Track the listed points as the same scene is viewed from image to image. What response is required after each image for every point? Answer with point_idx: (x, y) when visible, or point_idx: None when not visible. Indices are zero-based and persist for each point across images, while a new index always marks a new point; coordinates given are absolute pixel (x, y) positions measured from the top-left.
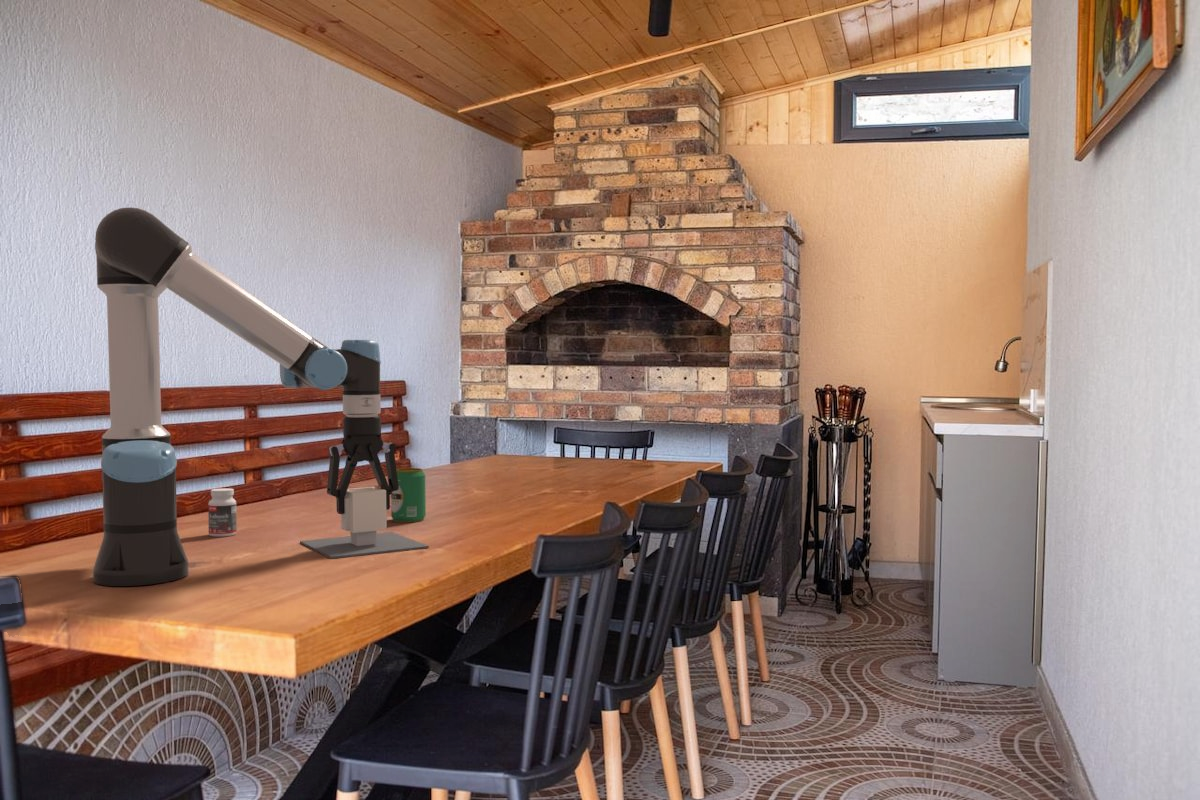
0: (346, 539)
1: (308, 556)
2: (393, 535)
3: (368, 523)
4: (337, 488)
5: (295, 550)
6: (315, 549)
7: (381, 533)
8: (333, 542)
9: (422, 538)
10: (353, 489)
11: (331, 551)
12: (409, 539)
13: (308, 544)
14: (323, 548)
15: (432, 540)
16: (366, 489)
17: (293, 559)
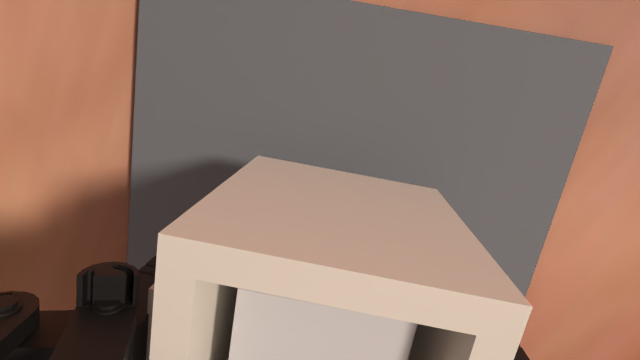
0: (327, 84)
1: (79, 264)
2: (546, 145)
3: None
4: (59, 342)
5: (75, 124)
6: (131, 192)
7: (546, 51)
8: (246, 114)
9: (609, 253)
10: (276, 293)
11: None
12: (522, 279)
13: (141, 81)
14: (157, 209)
15: (600, 317)
16: (416, 316)
17: (21, 275)
